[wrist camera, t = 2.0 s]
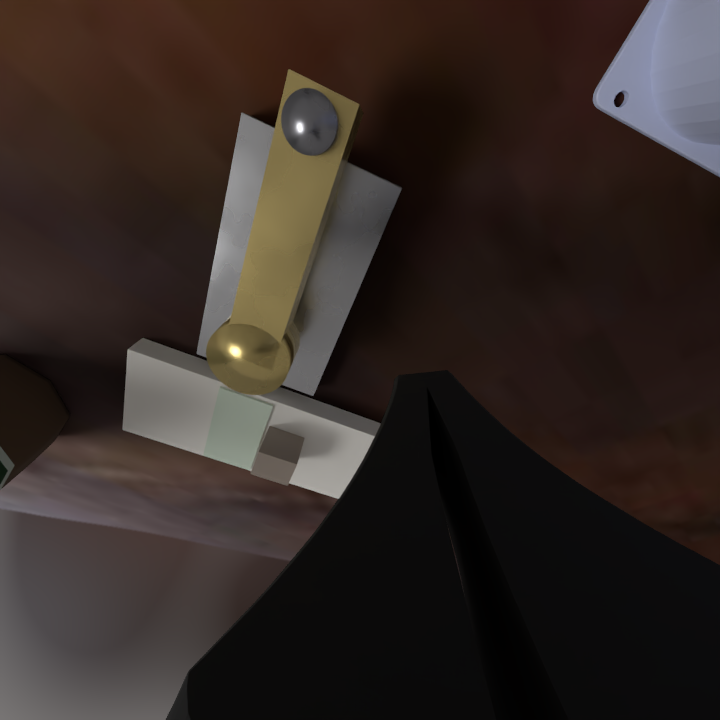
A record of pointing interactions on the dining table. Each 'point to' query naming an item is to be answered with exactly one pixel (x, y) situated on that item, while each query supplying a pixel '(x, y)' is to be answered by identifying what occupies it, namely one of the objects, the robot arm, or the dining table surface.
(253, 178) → the plate
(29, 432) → the beer bottle
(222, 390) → the door board
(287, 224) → the latch arm
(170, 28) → the dining table surface
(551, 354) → the dining table surface
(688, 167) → the dining table surface
